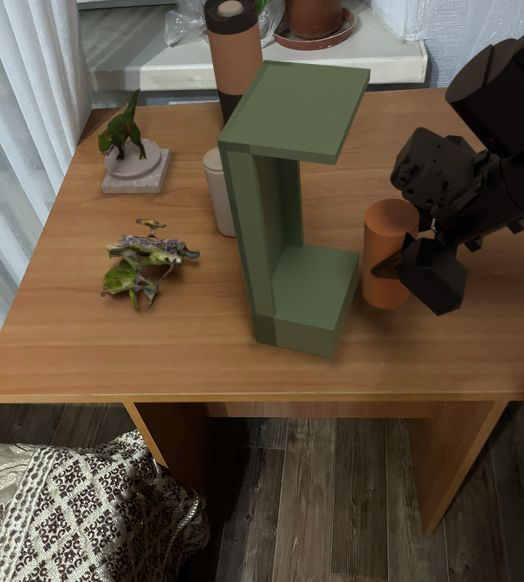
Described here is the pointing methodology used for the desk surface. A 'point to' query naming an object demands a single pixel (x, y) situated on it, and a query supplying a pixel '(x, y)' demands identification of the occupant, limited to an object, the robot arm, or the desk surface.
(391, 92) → the desk surface
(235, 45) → the travel mug
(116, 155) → the dinosaur figurine
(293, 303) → the green c-shaped stand
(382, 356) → the desk surface
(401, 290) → the tea tin
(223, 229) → the beverage can
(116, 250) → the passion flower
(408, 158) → the robot arm
